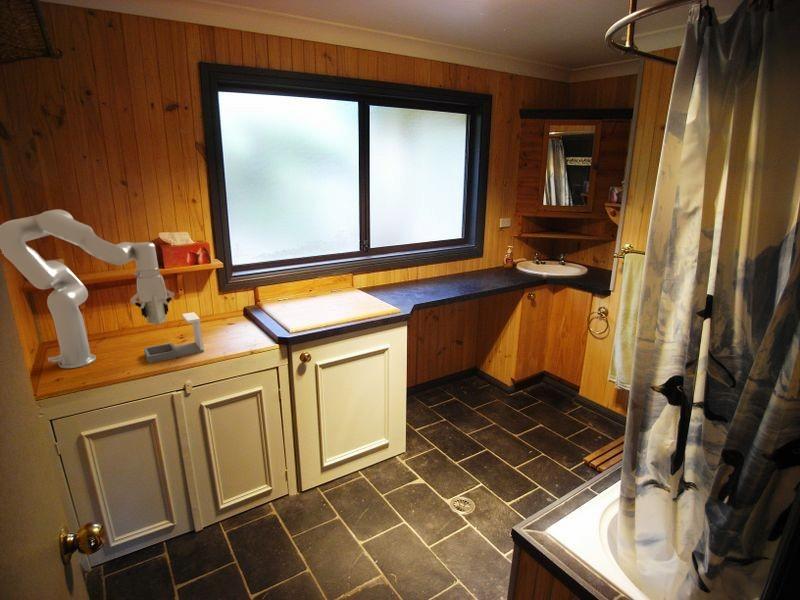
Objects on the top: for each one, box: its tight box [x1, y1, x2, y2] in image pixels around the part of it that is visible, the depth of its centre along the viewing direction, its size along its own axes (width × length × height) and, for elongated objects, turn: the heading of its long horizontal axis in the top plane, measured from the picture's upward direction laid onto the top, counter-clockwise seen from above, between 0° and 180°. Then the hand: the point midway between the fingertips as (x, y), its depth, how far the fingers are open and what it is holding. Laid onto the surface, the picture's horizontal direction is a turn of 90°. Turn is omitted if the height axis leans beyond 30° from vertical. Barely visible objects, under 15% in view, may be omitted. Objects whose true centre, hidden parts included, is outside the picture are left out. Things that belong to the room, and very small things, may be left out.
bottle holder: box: [143, 311, 205, 364], centre depth 193 cm, size 22×11×15 cm, turn 126°
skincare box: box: [144, 295, 168, 325], centre depth 187 cm, size 6×4×12 cm
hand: (155, 314), depth 188 cm, fingers closed on skincare box, 7 cm apart
